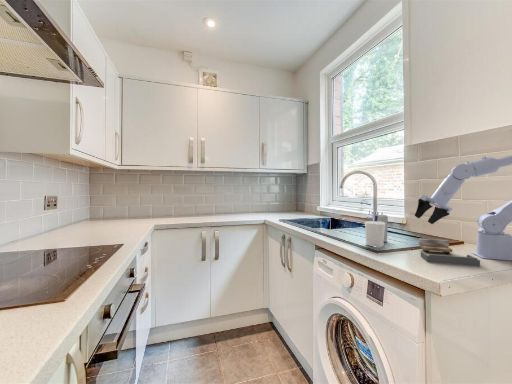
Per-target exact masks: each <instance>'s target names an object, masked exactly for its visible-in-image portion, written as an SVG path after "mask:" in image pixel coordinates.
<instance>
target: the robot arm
mask: <svg viewBox="0 0 512 384" xmlns="http://www.w3.org/2000/svg"><path fill="white" fill-rule="evenodd" d="M511 165H512V155H507V156H504V157H501V158H496V157H491V156H490V157H487V156H483V157H481V159H478V160H473V161H465V162H464V163H460V164H458V165H456V166H454V167H453V168H451V170H450V174H448V175H447V176H446V178H444V180H442V182H441V183H440V185H439V186H438V187H437V188H436V190H435V191H434V193H433V194H432V195H431V197H430V196H428V195H426V194H422V195H421V197H420V198H419V199H418V200H417V201H418V202H417V207H416V211H415V213H414V217H416V218H417V219H420V218H422V217H423V215H424V214H425V213H426V212H427V211H428V210H429V209H431V208H433V206H435V207H434V210H433V212H432V214H431V215H430V216H429V218H428V220H427V222H428V223H429V224H431V225H434V224H435V223H436V222H438V221H440V220H441V219H443V218H445V217H448V216H449V215H451V214H450V212H451V211H452V210H453V208H452V207H450V206H448V205H447V204H448V203H450V201H451V200H452V198H453V197H454V196H455V194H456V193H458V191H459V190H460V189H461V187H462V185H463V184H464V182H465V181H466V180H467V179H471V177H474V178H476V177H480V176H485V175H489V174H493V173H494V174H495V173H497V172H498V170H499V169H500V168H503V167H506V166H511ZM476 222H477V225H478V226H479V228H478V229H477V230H476V231H477V233H476V251H474V250H473V251H470V253H471V254H473V255H475V256H478V257H479V258H481V259H490V260H501V261H512V234H510V233H505V232H504V231H505V229H506V227H507V226H508V225H509V224H510V223H512V199H510V200H509V201H508V202H506V203H504V204H503V205H501V206H500V207H497V208H495V209H493V210H491V211H490V212H486V213H482V214H481V215H479V216H478V217H477V221H476Z"/></svg>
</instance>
